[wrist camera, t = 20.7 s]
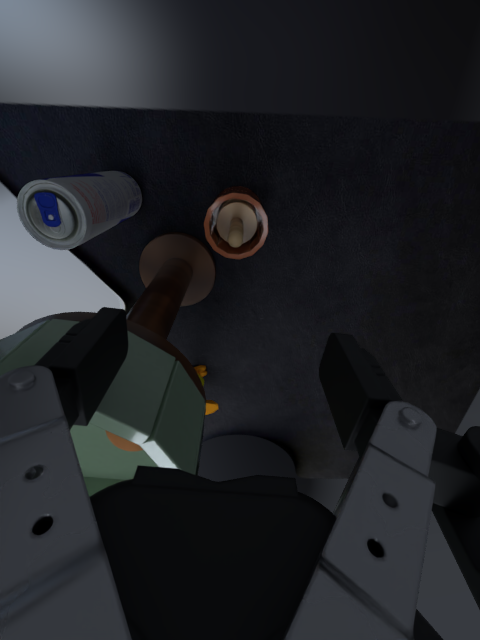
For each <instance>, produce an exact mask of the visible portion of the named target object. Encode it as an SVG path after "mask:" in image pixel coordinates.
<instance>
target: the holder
mask: <svg viewBox="0 0 480 640" xmlns="http://www.w3.org/2000/svg"><path fill="white" fill-rule="evenodd" d="M233 198H234V199H242V200H247V201H248V202H249V203H251V204H252V205H254V207H255V209H256V213H257V229H256V232H255V234H254V236H253V237H252V238H251V239H250V240H249V241H247V242H246V243H243V244H242V245H241V246H239V247H232V246H230V245H229V243H228V242H226V241H225V240H224V239H223V238H222V237H221V236H220V235H219V233H218V230H217V226H216V220H217V216H218V211H219V209H220V207H221V205H222V203H223V202H224V201H227V200H230V199H233ZM204 229H205V235H206V239H207V240H208V242H209V243H210V245H211V247H212V248H213V250H214V251H216V252H218V253H219V254H221V255H223V256H224V257H226V258H233V259H242V258H245V257H248V256H251V255H253V254H254V253H255V252H256V251H257V250H259V249H260V248H261V247H262V246H263V244H264V242H265V239H266V237H267V234H268V217H267V214H266V212H265V209H264V207H263V205H262V203H261V201H260V199H259V197H258V196H257V194H255V193H254V192H253V191H251V190H250V189H248V188H246V187H241V186H233V187H229V188H227V189H225V190H223V191H221V193H220V194H219V195H218V196H217V197H216V198H215V199H214V201H213V202H212V204H211V205H210V207H209V208H208V210H207V214H206V217H205V221H204Z"/></svg>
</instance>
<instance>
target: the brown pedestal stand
mask: <svg viewBox="0 0 480 640" xmlns="http://www.w3.org/2000/svg"><path fill="white" fill-rule="evenodd" d="M139 270H140V275H141V278H142V281H143V283H144V285H145V287H146V289H145V291H144V292H143V294H142V295H141V296H140V298H139V299H138V300H137V302H136V303H135V305H134V306H133V307H132V309H131V310H130V312H129V313H128V314H127V316H126V320H127V330H128V331H129V332H131V333H133V334H135V335H137V336H138V337H140V338H142V339H144V340H145V341H147V342H149V343H151V344H152V345H154V346H156V347H158V348H160V349H161V350H163V351H165V352H167V353H168V354H170V355H172V356H174V357H175V358H176V360H175V361H180V363H181V365H182V366H183V368H184V369H185V371H186V372H187V374H188V375H189V377H190V378H191V380H192V381H193V383H194V384H195V386H196V387H197V389H198V390H199V392H200V393H201V395H202V396H203V398H204V399H205V403H206V397H205V391H204V388H203V385H202V382H201V380H200V378H199V376H198V374H197V372H196V370H195V369H194V367H193V366H192V365H191V363H190V362H189V361H188V359H187V358H186V357H185V356H184V355H183V354H182V353H181V352H180V351H179V350H178V349H177V348H176V347H174V346H173V345H172V344H171V343H170V342H168V341H167V340H166V339H167V337H168V335H169V332H170V330H171V327H172V325H173V322H174V320H175V318H176V315H177V313H178V310H179V308H180V306H188V305H192V304H195V303H197V302H199V301H201V300H203V299H204V298H205V297H206V296H207V295H208V294H209V292H210V291H211V289H212V287H213V285H214V282H215V277H216V266H215V261H214V258H213V256H212V254H211V252H210V251H209V249H208V248H207V247H206V246H205V245H204V244H203V243H202V242H201V241H200V240H198V239H197V238H195V237H193V236H191V235H189V234H186V233H181V232H169V233H164V234H162V235H159V236H157V237H156V238H154V239H153V240H152V241H151V242H150V243H149V244H148V245H147V246H146V247H145V248H144V250H143V252H142V254H141V257H140V262H139ZM96 314H97V313H91V312H68V313H60V314H54V315H49V316H46V317H43V318H40V319H37V320H35V321H33V322H31V323H29V324H27V325H25V326H24V327H23V328H21V329H20V330H19V331H17V332H20V331H22V330H24V329H27V328H29V327H31V326H34V325H36V324H38V323H41V322H43V321H45V320H48V319H49V320H50V321H51V320H52V319H61V320H70V321H80V322H81V321H83V320H85V319H92V318H93V317H94V316H95V315H96ZM17 332H16V333H17ZM205 413H206V408H205ZM204 420H205V419H204Z"/></svg>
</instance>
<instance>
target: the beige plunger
mask: <svg viewBox="0 0 480 640" xmlns="http://www.w3.org/2000/svg"><path fill="white" fill-rule="evenodd" d="M216 226H217V230H218V233H219V235H220V236H221V237H222V238H223V239H224V240H225V241H226V242H228V243H229V245H230V246H232V247H239V246H241V245H242V244H243V243H246V242H247V241H249V240H250V239H251V238H252V237H253V236H254V234H255V232H256V229H257V213H256V209H255V207H254V205H252V204H251V203H249V202H248V201H247V200H242V199H234V198H233V199H230V200H227V201H224V202H223V203H222V205H221V207H220V209H219V211H218V216H217V220H216Z"/></svg>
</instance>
